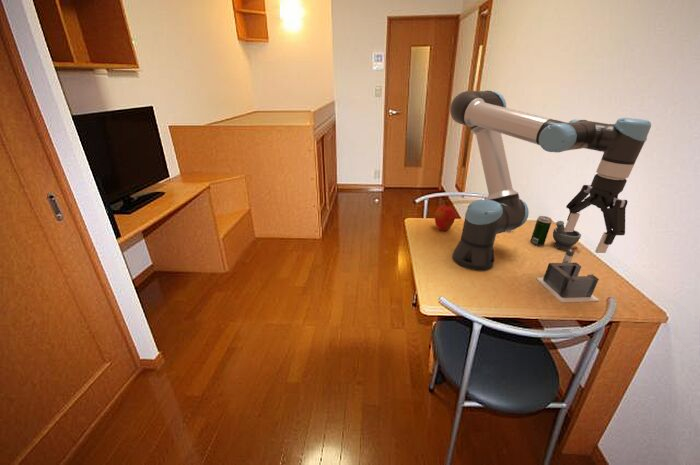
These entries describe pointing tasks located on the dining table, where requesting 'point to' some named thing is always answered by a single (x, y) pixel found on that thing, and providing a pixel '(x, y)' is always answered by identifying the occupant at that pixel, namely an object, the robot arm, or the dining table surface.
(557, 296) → the mat
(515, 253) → the dining table surface
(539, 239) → the beer can
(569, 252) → the stand
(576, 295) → the c link
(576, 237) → the mortar and pestle
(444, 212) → the apple
